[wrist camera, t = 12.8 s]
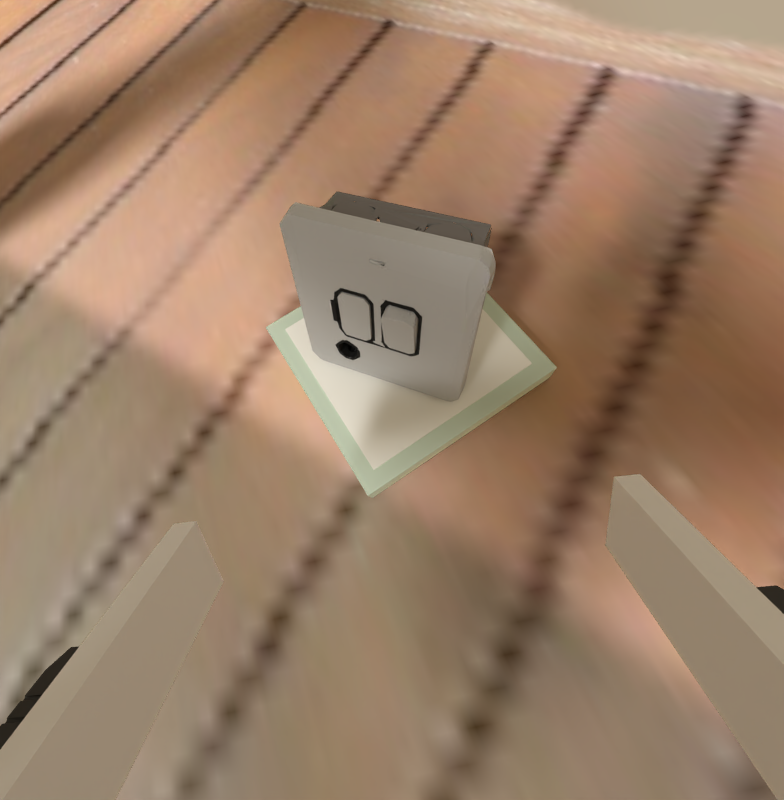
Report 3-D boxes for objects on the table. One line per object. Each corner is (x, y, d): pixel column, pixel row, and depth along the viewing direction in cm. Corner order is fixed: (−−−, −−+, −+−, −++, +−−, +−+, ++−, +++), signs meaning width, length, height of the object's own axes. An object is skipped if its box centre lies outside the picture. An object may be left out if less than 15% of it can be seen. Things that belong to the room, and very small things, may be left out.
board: (275, 338, 26) (265, 326, 24) (428, 244, 27) (427, 228, 26) (372, 498, 22) (367, 495, 20) (549, 377, 23) (557, 366, 21)
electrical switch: (314, 359, 23) (253, 240, 15) (348, 297, 25) (312, 160, 17) (457, 407, 21) (482, 301, 13) (483, 336, 23) (520, 202, 15)
